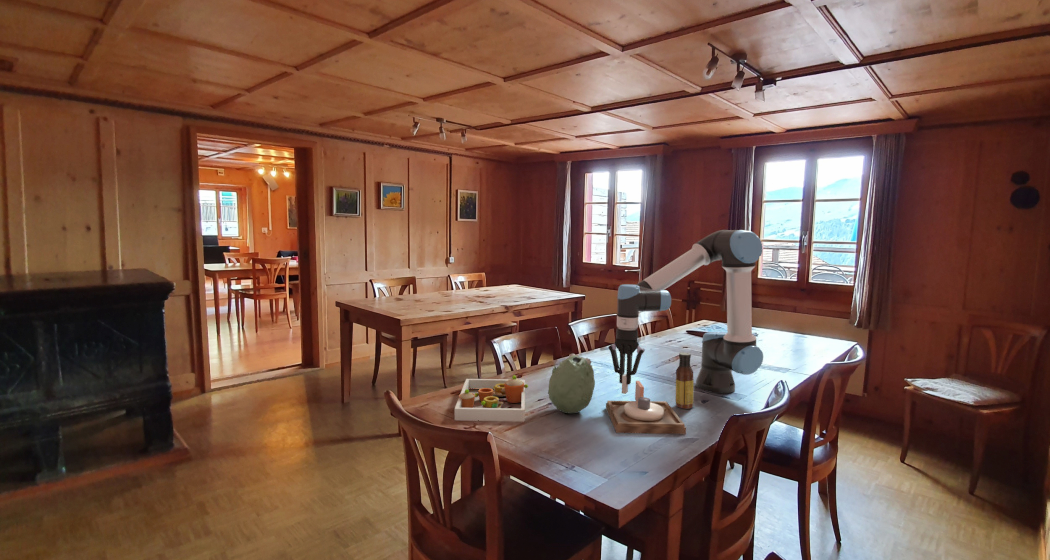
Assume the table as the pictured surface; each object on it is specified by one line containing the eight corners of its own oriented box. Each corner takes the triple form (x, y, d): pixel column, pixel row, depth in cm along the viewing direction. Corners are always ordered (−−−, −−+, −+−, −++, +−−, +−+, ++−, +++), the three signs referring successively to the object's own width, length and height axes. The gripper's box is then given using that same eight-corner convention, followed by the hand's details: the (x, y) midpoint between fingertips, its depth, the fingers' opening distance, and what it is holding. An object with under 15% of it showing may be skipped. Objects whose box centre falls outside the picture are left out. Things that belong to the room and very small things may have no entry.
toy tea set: (502, 390, 202) (502, 366, 201) (531, 399, 191) (532, 374, 190) (451, 407, 182) (451, 381, 181) (481, 418, 172) (481, 390, 171)
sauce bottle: (693, 405, 189) (695, 352, 187) (692, 410, 183) (695, 356, 181) (674, 402, 191) (677, 350, 189) (673, 408, 185) (676, 354, 183)
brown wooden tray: (666, 409, 184) (667, 401, 184) (685, 434, 162) (686, 424, 162) (605, 408, 184) (606, 400, 184) (616, 432, 162) (617, 423, 162)
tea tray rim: (524, 389, 204) (524, 379, 203) (524, 421, 170) (524, 409, 170) (466, 388, 204) (466, 378, 203) (454, 420, 170) (454, 408, 170)
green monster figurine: (538, 415, 176) (539, 358, 174) (562, 400, 192) (564, 347, 190) (580, 425, 168) (581, 365, 166) (601, 408, 184) (603, 353, 182)
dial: (668, 421, 166) (669, 397, 165) (628, 420, 166) (629, 396, 165) (654, 402, 184) (655, 380, 183) (618, 402, 184) (619, 380, 183)
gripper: (606, 327, 181) (604, 392, 183) (642, 332, 175) (639, 398, 178) (612, 324, 188) (610, 386, 190) (648, 328, 182) (645, 392, 184)
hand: (624, 392), depth 184 cm, fingers closed
